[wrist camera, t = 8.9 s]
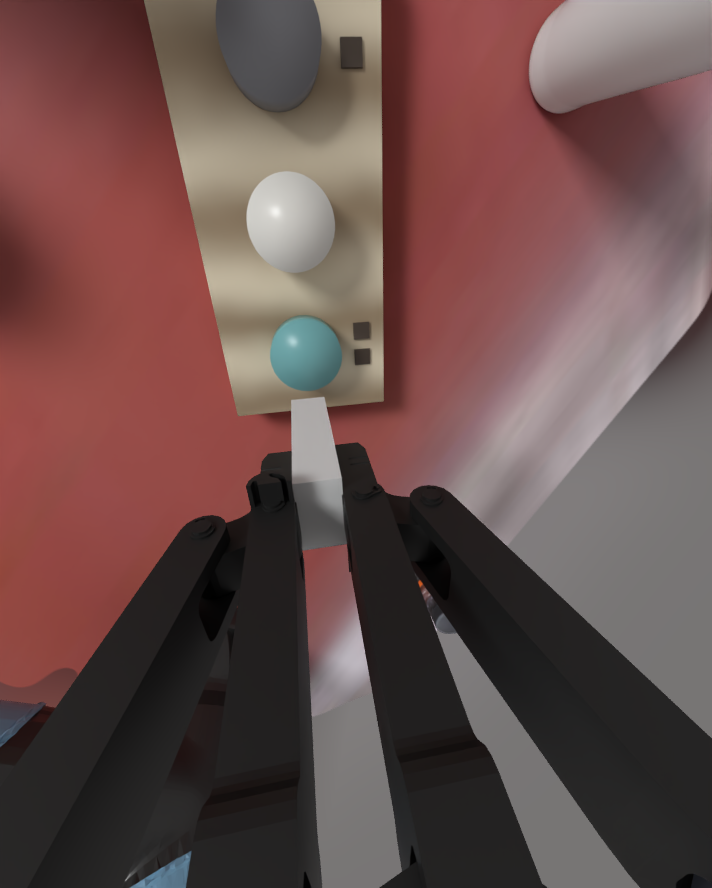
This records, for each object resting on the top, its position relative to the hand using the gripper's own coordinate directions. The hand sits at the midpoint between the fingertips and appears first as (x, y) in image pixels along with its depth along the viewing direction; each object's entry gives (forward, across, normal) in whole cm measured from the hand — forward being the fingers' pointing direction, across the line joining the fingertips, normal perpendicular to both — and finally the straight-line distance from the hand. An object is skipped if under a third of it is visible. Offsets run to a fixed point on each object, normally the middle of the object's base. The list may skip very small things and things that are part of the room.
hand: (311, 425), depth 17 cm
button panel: (+16, 0, -8) cm, 18 cm away
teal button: (+12, 0, 0) cm, 12 cm away
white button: (+11, 0, -8) cm, 14 cm away
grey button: (+12, 0, -16) cm, 20 cm away
